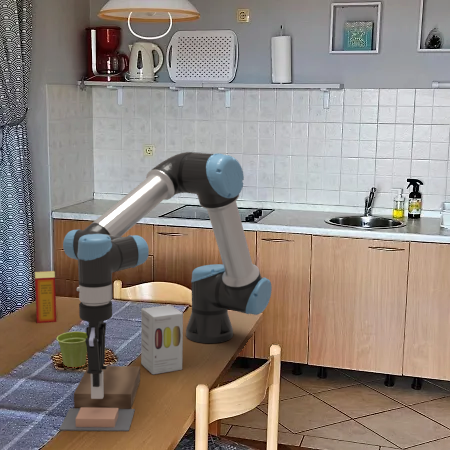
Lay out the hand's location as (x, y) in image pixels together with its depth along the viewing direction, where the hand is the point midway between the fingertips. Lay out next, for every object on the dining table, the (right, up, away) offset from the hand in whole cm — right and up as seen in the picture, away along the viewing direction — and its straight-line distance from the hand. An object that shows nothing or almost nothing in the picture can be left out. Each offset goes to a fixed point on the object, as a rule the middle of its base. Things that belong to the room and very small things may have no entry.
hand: (97, 397), depth 165 cm
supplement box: (+12, 0, +34) cm, 36 cm away
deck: (0, -3, +15) cm, 15 cm away
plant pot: (-13, 0, +34) cm, 36 cm away
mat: (0, -5, +1) cm, 6 cm away
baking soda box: (-32, +8, +76) cm, 83 cm away
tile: (0, -3, -1) cm, 4 cm away
